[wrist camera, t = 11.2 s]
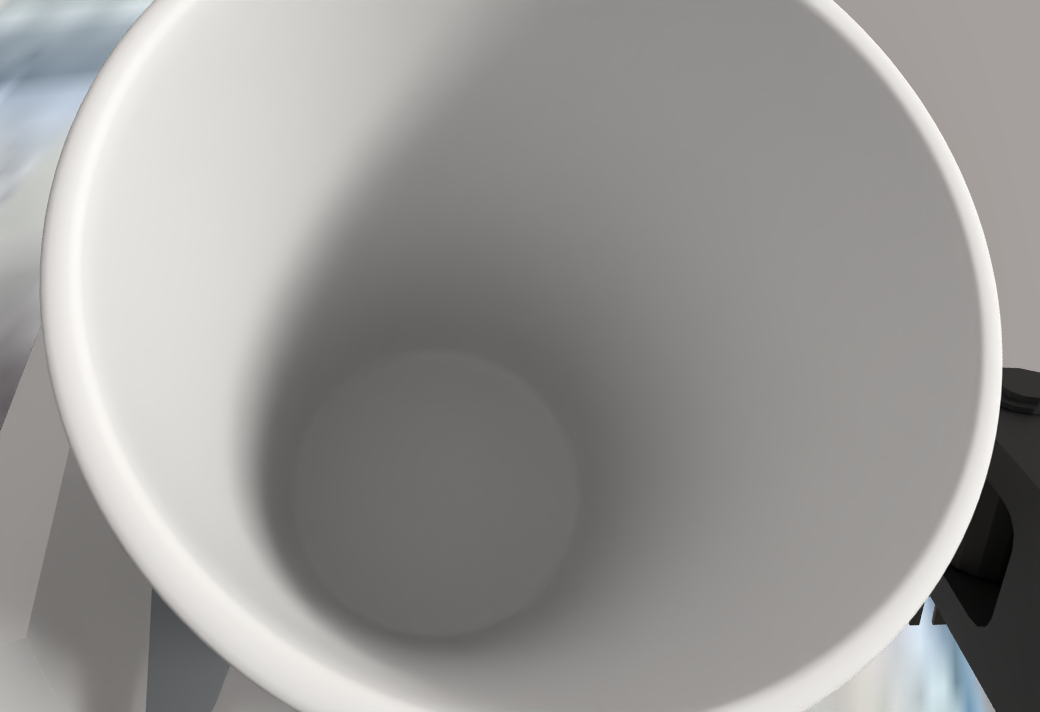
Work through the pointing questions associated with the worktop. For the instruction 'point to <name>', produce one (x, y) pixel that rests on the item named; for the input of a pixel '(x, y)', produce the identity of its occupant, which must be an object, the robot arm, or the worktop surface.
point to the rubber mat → (180, 665)
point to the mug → (521, 347)
